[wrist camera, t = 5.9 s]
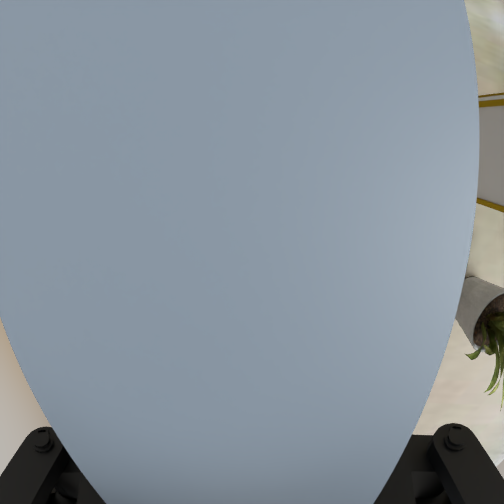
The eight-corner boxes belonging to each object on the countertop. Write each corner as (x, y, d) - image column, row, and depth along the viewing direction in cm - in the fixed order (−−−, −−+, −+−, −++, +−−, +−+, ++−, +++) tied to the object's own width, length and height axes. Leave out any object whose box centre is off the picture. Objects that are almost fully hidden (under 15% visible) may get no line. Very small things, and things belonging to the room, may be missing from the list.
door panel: (192, 71, 10) (19, -94, 1) (291, 68, 10) (409, -134, 1) (225, 456, 17) (214, 601, 7) (284, 455, 17) (294, 600, 7)
